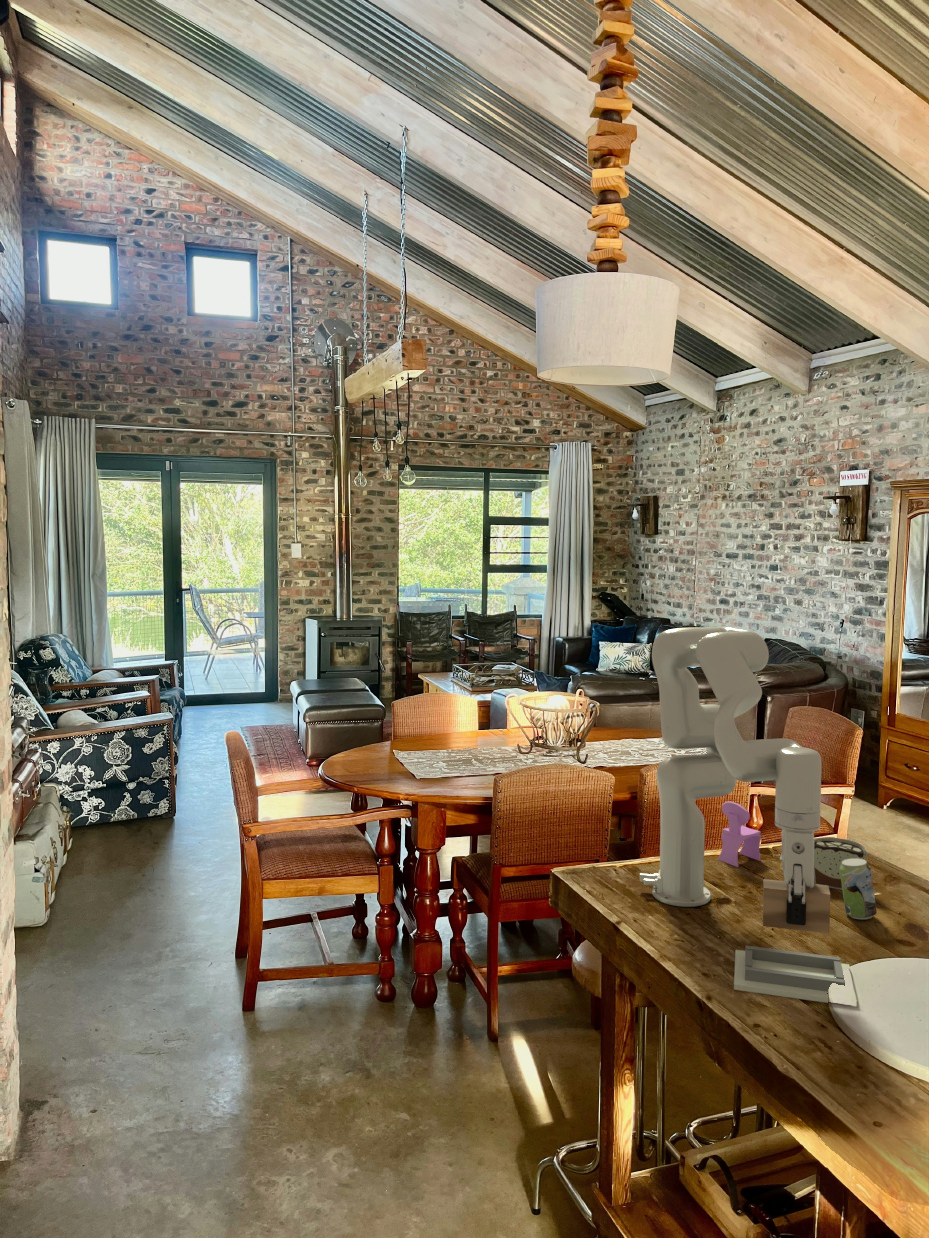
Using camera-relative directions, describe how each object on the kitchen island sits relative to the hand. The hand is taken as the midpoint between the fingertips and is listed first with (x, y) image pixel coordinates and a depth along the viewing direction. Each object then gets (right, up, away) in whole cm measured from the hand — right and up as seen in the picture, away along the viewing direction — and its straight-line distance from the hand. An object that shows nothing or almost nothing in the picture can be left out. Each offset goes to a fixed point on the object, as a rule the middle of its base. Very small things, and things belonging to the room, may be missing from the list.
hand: (795, 916), depth 161 cm
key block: (0, -1, 0) cm, 1 cm away
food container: (+27, -8, +46) cm, 54 cm away
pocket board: (0, -12, +1) cm, 12 cm away
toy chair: (+9, -7, +62) cm, 63 cm away
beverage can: (+23, -9, +28) cm, 38 cm away
